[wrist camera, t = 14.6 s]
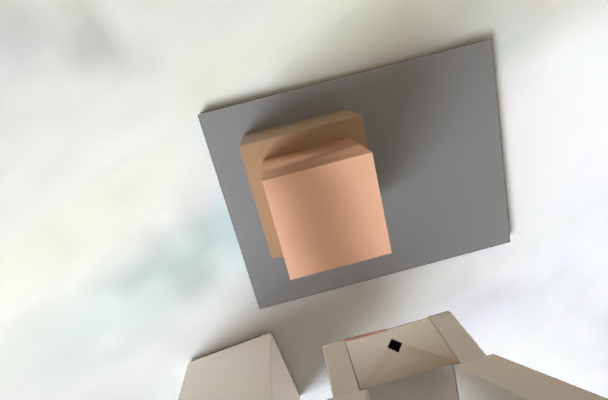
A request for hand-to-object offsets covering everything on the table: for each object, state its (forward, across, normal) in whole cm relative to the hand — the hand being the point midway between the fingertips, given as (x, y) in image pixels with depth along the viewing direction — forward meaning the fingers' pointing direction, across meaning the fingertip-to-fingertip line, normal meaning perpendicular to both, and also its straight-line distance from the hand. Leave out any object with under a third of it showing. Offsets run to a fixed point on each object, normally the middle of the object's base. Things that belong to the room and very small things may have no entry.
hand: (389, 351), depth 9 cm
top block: (+14, 0, 0) cm, 15 cm away
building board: (+20, +4, -2) cm, 21 cm away
